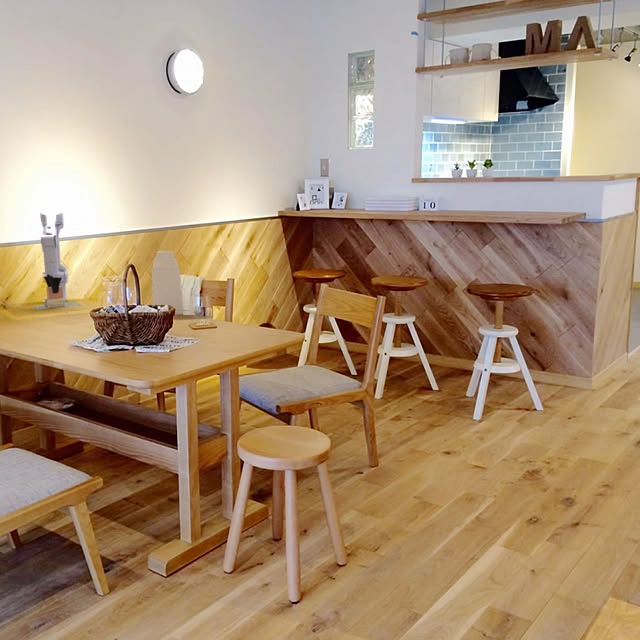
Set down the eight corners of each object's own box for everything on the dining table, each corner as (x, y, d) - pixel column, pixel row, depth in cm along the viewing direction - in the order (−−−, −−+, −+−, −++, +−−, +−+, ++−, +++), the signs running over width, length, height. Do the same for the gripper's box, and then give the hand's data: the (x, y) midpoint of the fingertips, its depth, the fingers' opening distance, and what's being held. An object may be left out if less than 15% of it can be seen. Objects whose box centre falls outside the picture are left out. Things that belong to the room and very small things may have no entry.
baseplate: (32, 309, 330) (31, 306, 330) (75, 305, 340) (74, 302, 340) (38, 312, 319) (37, 309, 319) (82, 308, 329) (82, 305, 329)
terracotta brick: (47, 298, 329) (46, 287, 328) (61, 297, 332) (60, 286, 331) (49, 299, 325) (48, 288, 324) (63, 298, 328) (62, 286, 327)
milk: (152, 315, 303) (148, 252, 299) (155, 311, 314) (151, 250, 310) (182, 314, 304) (178, 251, 300) (183, 310, 316) (180, 249, 311)
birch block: (45, 305, 330) (44, 298, 329) (61, 304, 333) (60, 296, 333) (48, 307, 324) (47, 299, 323) (64, 306, 328) (64, 298, 327)
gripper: (38, 261, 329) (40, 291, 332) (45, 263, 317) (48, 294, 320) (54, 260, 333) (57, 290, 335) (62, 262, 321) (64, 293, 323)
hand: (53, 292), depth 328 cm, fingers open, 7 cm apart
